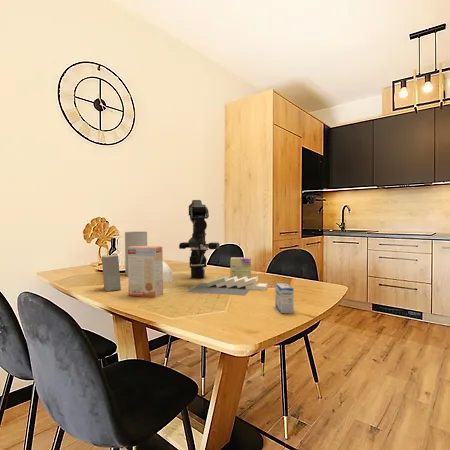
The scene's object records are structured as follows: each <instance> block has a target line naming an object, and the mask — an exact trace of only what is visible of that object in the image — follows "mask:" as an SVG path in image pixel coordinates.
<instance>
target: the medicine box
mask: <svg viewBox="0 0 450 450" xmlns="http://www.w3.org/2000/svg"><path fill="white" fill-rule="evenodd" d="M274 291H275V292H274V293H275V296H274V297H275V299H274V300H275V302H274V303H275V306H274V307H275V308H276V309H277V310H278V312H279V313H280V314H281V313H289V314H294V305H295V303H294V301H295V300H294V293H295V292H294V288H293V287H292V286H291V285H289V284H288V283H285V282H284V283H282V282H281V283H280V282H279V283H275V290H274Z"/></svg>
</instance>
